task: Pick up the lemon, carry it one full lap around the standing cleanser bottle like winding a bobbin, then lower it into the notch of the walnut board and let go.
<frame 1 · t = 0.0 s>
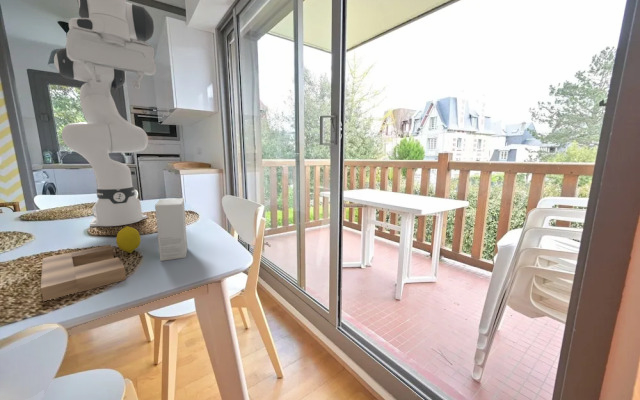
hand: (117, 84, 76), 48 cm above the table, tool pointing down, fingers open, 8 cm apart
notched board: (84, 274, 61), on the table
lemon: (130, 253, 74), on the table
skincare box: (175, 255, 74), on the table
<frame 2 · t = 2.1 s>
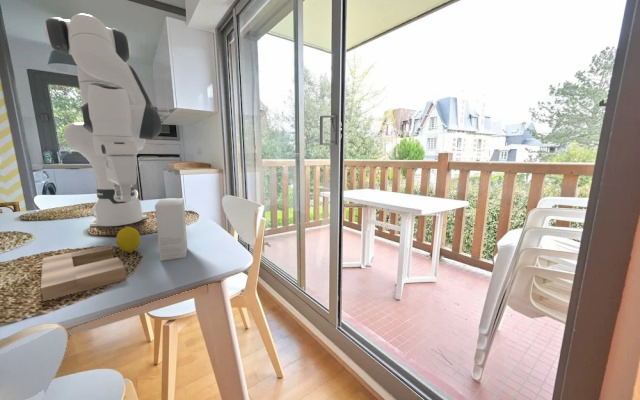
hand: (123, 199, 71), 16 cm above the table, tool pointing down, fingers open, 8 cm apart
nothing on the table moved.
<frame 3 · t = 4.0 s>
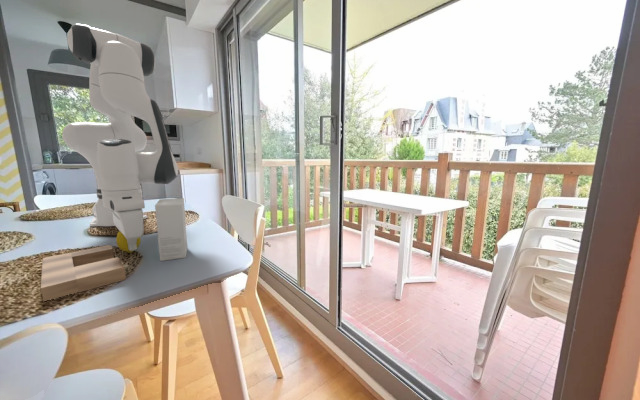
hand: (129, 246, 74), 2 cm above the table, tool pointing down, fingers closed on lemon, 5 cm apart
lemon: (130, 253, 74), on the table, touching gripper
everything else where it was.
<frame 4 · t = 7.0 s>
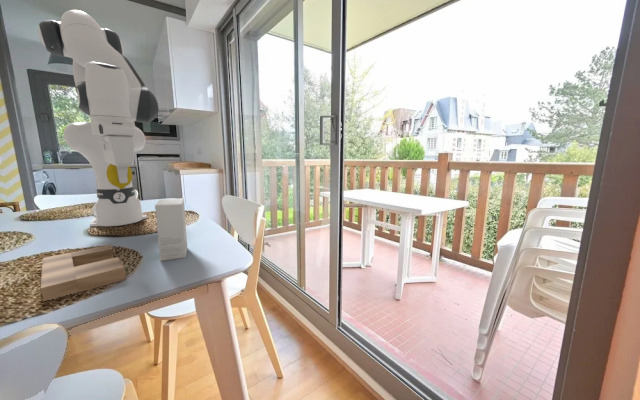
hand: (120, 181, 70), 21 cm above the table, tool pointing down, fingers closed on lemon, 5 cm apart
lemon: (121, 189, 71), point 18 cm above the table, touching gripper
everything else where it was.
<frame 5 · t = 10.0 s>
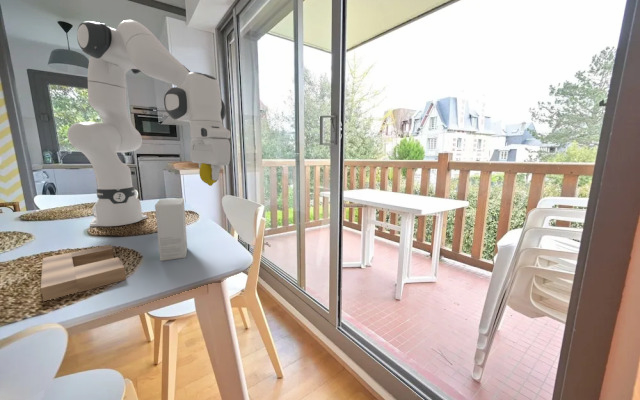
hand: (209, 179, 78), 21 cm above the table, tool pointing down, fingers closed on lemon, 5 cm apart
lemon: (210, 186, 79), point 18 cm above the table, touching gripper
everything else where it was.
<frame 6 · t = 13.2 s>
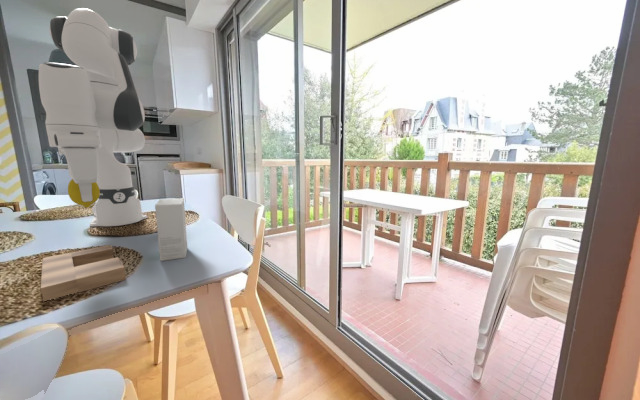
hand: (85, 199, 61), 18 cm above the table, tool pointing down, fingers closed on lemon, 5 cm apart
lemon: (87, 208, 62), point 15 cm above the table, touching gripper
everything else where it was.
when the fingers open (4 cm above the table, at t = 16.0 s): lemon drops 2 cm, on the table.
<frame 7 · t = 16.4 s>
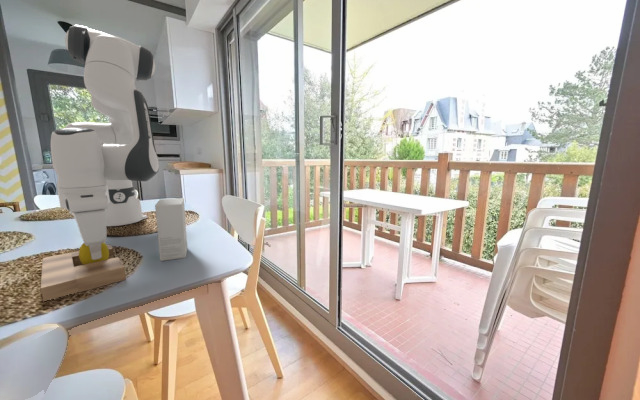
hand: (94, 252, 64), 4 cm above the table, tool pointing down, fingers open, 8 cm apart
lemon: (97, 269, 64), on the table
everything else where it was.
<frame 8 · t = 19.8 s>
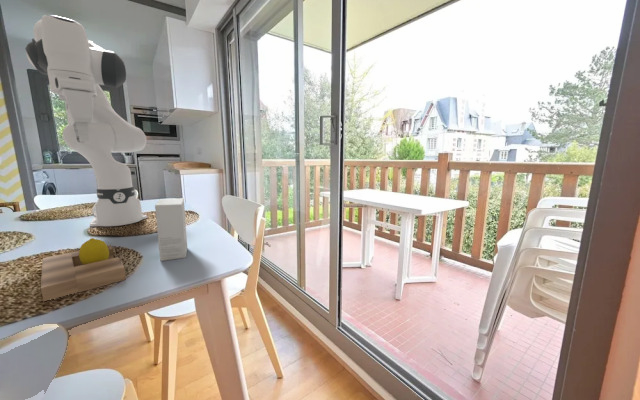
hand: (82, 142, 69), 31 cm above the table, tool pointing down, fingers open, 8 cm apart
nothing on the table moved.
at the end: lemon inside the target area (0.6 cm from its centre), on the table; the gripper is holding nothing; skincare box moved 0.2 cm from its start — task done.
